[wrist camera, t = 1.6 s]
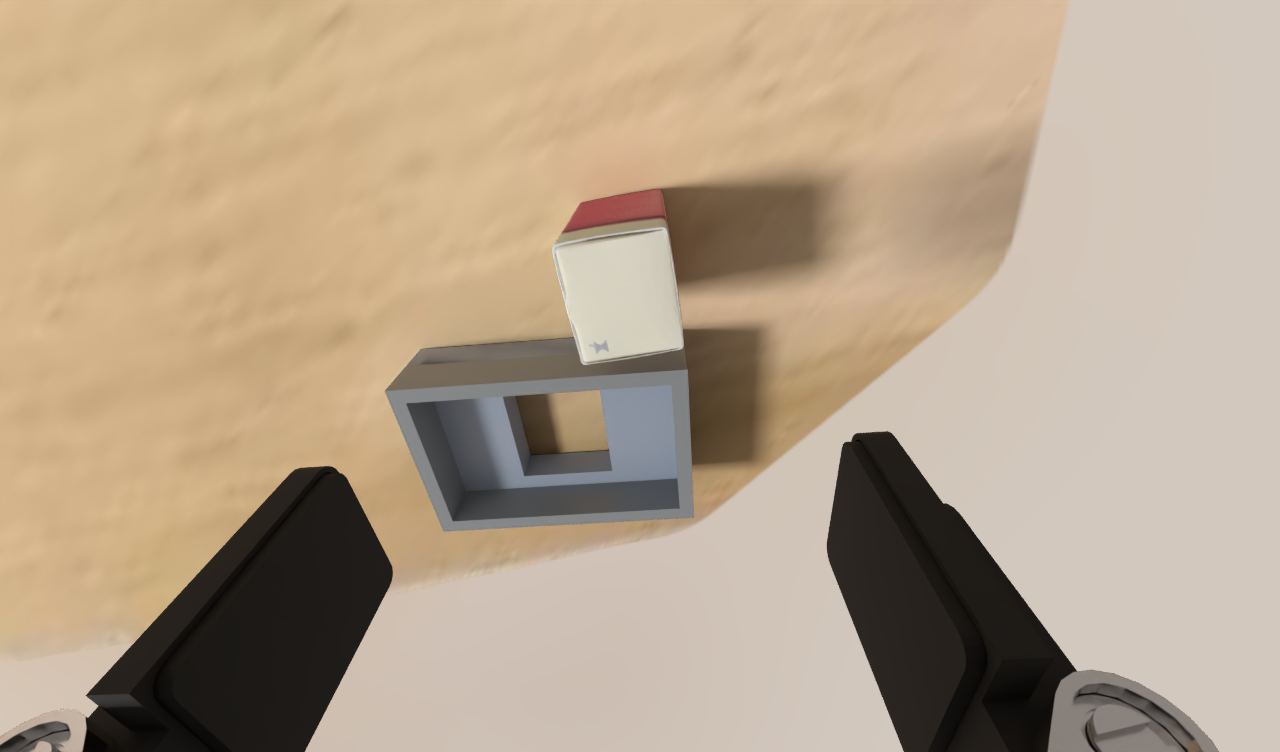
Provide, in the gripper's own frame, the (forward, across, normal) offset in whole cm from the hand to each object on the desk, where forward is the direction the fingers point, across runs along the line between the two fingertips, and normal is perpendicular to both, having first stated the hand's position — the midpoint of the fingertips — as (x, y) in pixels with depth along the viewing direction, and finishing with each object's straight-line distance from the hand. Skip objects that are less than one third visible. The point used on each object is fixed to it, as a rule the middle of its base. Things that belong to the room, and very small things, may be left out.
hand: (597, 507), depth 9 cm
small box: (+18, 0, 0) cm, 18 cm away
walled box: (+18, +5, +10) cm, 21 cm away
